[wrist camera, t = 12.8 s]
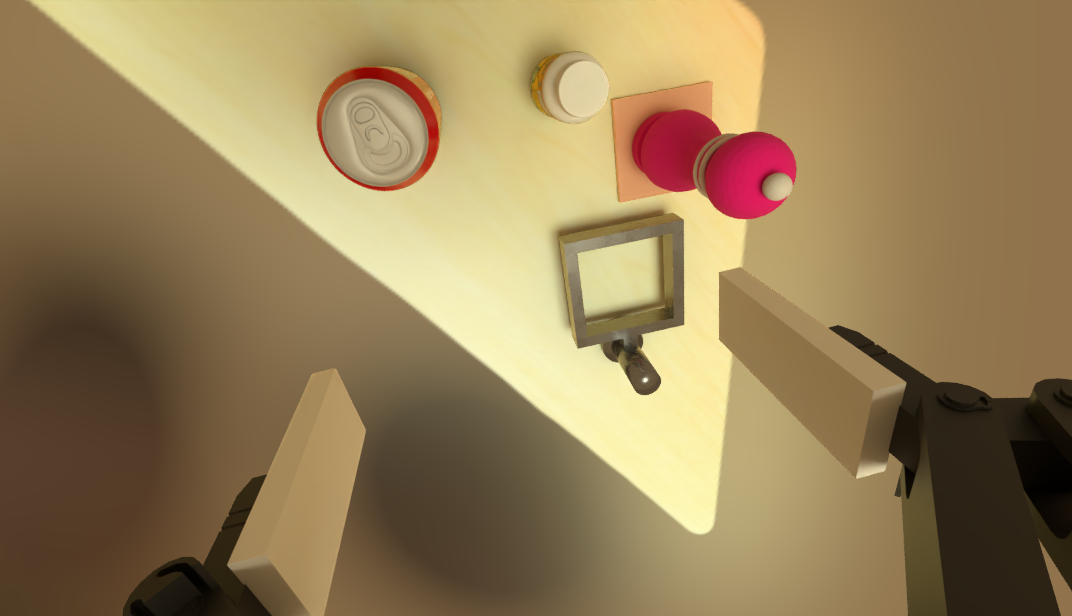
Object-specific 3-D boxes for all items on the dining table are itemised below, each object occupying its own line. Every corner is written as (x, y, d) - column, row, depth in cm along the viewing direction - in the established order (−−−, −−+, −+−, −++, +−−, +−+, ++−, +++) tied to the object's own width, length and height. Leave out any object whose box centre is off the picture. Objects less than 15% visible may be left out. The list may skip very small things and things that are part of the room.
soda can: (415, 51, 41) (400, 43, 28) (456, 138, 45) (460, 167, 32) (335, 89, 41) (281, 99, 28) (382, 173, 45) (354, 216, 32)
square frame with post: (554, 230, 50) (574, 260, 42) (665, 207, 51) (705, 233, 43) (574, 368, 59) (593, 414, 51) (668, 346, 60) (702, 389, 52)
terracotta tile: (611, 99, 45) (612, 100, 45) (709, 81, 46) (712, 81, 46) (618, 201, 50) (620, 202, 50) (707, 183, 51) (710, 184, 50)
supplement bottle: (545, 127, 46) (567, 141, 37) (519, 73, 43) (536, 74, 35) (594, 98, 45) (628, 105, 37) (570, 41, 43) (600, 34, 34)
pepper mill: (701, 108, 47) (855, 132, 29) (687, 182, 50) (817, 244, 32) (632, 104, 45) (748, 126, 28) (622, 180, 48) (720, 244, 31)
